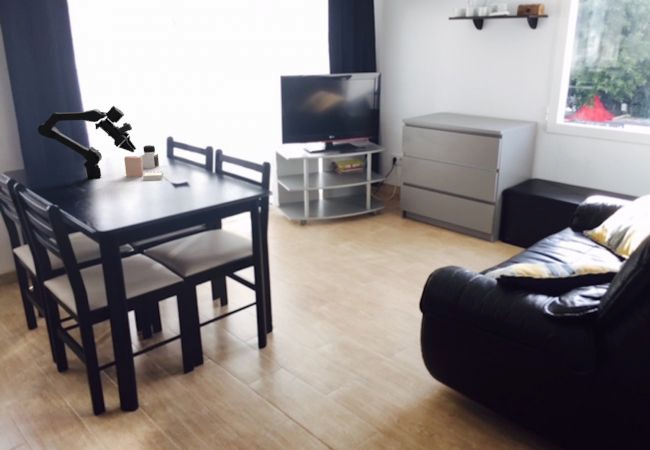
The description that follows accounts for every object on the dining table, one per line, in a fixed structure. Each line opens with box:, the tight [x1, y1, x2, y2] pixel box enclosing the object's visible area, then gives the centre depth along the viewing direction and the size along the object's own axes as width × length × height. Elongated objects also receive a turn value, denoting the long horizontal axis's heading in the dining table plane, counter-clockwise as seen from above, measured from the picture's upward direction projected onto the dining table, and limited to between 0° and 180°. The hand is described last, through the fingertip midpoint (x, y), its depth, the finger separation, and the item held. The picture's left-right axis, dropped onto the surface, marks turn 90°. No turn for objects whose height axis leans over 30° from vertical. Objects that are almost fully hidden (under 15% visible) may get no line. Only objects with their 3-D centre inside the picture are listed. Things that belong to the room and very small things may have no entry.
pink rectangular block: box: [124, 155, 144, 178], centre depth 295 cm, size 8×4×10 cm, turn 98°
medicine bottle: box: [141, 144, 160, 169], centre depth 316 cm, size 7×7×12 cm
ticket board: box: [142, 171, 165, 181], centre depth 291 cm, size 9×8×3 cm
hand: (134, 150), depth 293 cm, fingers open, 9 cm apart
